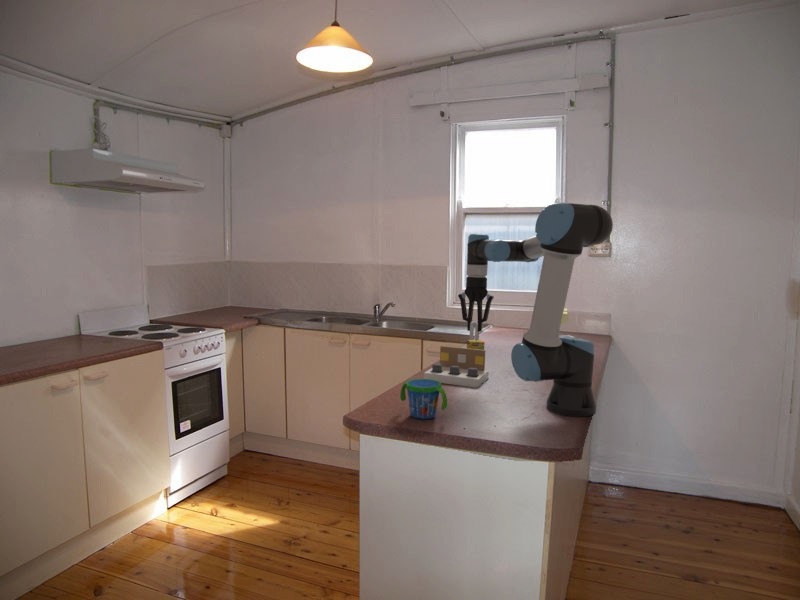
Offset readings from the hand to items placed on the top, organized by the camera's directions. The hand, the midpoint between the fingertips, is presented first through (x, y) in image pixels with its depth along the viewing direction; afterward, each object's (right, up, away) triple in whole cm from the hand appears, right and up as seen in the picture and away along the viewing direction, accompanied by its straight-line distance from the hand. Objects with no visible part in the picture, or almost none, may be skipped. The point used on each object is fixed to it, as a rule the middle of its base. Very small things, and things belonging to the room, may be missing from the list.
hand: (474, 339), depth 205 cm
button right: (0, -14, +1) cm, 14 cm away
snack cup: (-21, -20, -40) cm, 49 cm away
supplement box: (+4, -14, +32) cm, 35 cm away
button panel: (-6, -16, +7) cm, 18 cm away
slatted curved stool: (+54, -9, +95) cm, 109 cm away
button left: (-13, -13, +7) cm, 20 cm away
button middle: (-7, -14, +4) cm, 16 cm away
